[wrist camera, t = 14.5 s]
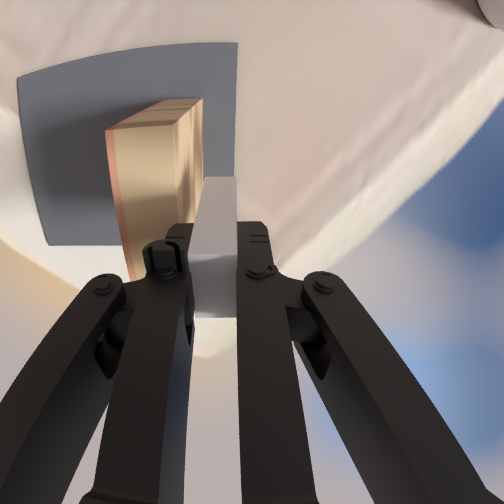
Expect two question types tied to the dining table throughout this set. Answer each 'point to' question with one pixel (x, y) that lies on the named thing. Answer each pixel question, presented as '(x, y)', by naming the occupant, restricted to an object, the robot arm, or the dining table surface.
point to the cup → (493, 12)
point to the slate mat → (107, 115)
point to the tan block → (155, 173)
